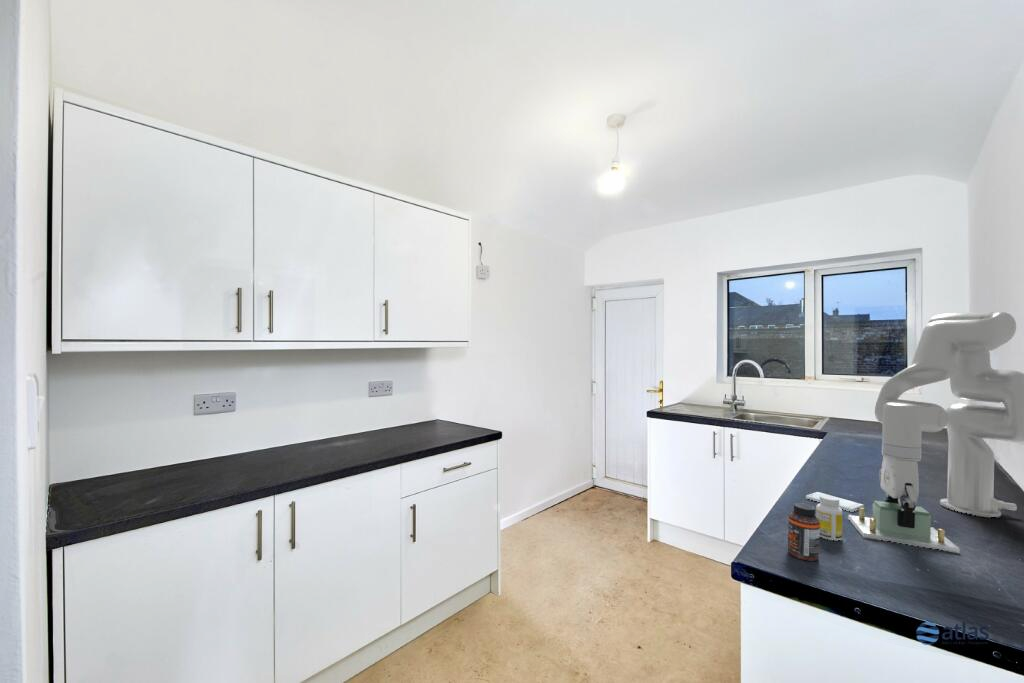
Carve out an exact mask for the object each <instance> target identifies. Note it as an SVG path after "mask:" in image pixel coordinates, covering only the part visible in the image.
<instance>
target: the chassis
mask: <svg viewBox="0 0 1024 683" xmlns="http://www.w3.org/2000/svg"><path fill="white" fill-rule="evenodd" d="M847 517H848V518H847V519H848V521H849V520H850V521H849V522H850V523H851V525H853V526H854V528H855V529H856V531H858V533H860V535H861V537H863V538H864V539H870V540H875V539H876V541H877V540H878V541H881V540H883V541H882V542H887V541H891V542H890V543H893V542H897V543H896V544H899V543H902V544H901V545H905V544H908V545H907V546H911V545H913V547H917V546H919V547H918V548H923V547H925V548H924V549H929V548H932V549H931V550H935V549H939V550H938V551H941V550H943V552H947V551H948V552H949V553H954V554H960V548H959V546H957V545H956V544H954V542H952V541H951V540H950V539H948V538H947V537H946V536H945V534H946V530H945V529H943V528H937V529H935V527H932V526H931V531H930V538H927V537H921V536H914V535H908V534H902V533H895V532H889V531H883V530H879V529H878V528H877V527H876V519H873V518H872V517H867V516H866V508H865V507H864V508H861V507H860V508H859V510H858V515H853V514H848V516H847Z"/></svg>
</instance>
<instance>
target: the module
mask: <svg viewBox="0 0 1024 683" xmlns="http://www.w3.org/2000/svg"><path fill="white" fill-rule="evenodd" d="M898 510H900V508H899V504H896V503H889V502H886V501H882V500H881V501H880V500H873V503H872V517H871V518H873V519H876V527H877V528H878V529H879V530H883V531H889V532H895V533H902V534H908V535H914V536H921V537H927V538H930V531H931V527H932V525H931V522H932V516H931V515H930V512H929V511H928V510H926V509H924V508H923V507H922V506H917V505H916V507H915V510H916V512H915V528H907V527H900V526H898V525H897V515H898Z"/></svg>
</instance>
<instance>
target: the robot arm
mask: <svg viewBox="0 0 1024 683" xmlns="http://www.w3.org/2000/svg"><path fill="white" fill-rule="evenodd" d="M1016 332H1017V322H1016V319H1015V317H1014V316H1013V315H1012V314H1011V313H1008V312H1006V311H1005V312H1004V311H986V312H985V311H984V312H983V311H982V312H981V311H980V312H979V311H978V312H952V313H951V312H950V313H941V314H940V313H939V314H937V315H934V316H932V317H931V318H930V319H929V321H928V324H927V325H926V326H924V328H923V330H922V332H921V334H920V338H919V341H918V345H917V347H916V349H915V353H914V355H913V358H912V361H911V362H912V363H911V364H910V365H909V366H907V367H906V368H904V369H902V370H901V371H899V372H896V374H894V375H893V376H892V377H890V378H889V379H888V380H887V381H886V382H884V384H883V386H881V389H880V392H879V393H878V395H877V401H876V402H875V407H874V416H875V419H876V421H878V423H880V424H882V432H881V455H882V456H883V457H882V463H881V469H882V471H881V481H880V485H879V486H880V488H881V490H883V492H885V495H884V496H885V502H889V503H896V504H899V508H900V510H898V515H897V525H898V526H900V527H907V528H915V512H916V510H915V507H916V506H917V503H918V500H919V499H918V498H919V493H920V492H919V490H920V488H919V487H920V486H919V485H920V484H919V482H920V481H919V478H920V477H919V466H918V462H921V461H922V436H923V435H922V434H923V433H922V432H926V433H937V432H940V431H942V430H944V428H946V432H947V440H948V441H947V442H948V444H947V445H948V448H947V449H948V450H947V452H948V453H947V455H948V456H947V485H946V486H947V490H946V494H947V495H946V496H947V497H946V498H941V499H940V500H939V504H940V506H942V507H944V508H946V509H948V508H949V509H948V510H951V511H954V510H955V511H954V512H957V511H958V513H961V512H962V514H965V513H967V514H966V515H969V514H972V515H971V516H975V515H976V517H983V518H991V517H996V518H1001V516H1002V512H1001V510H1003V509H1004V510H1007V511H1008V510H1010V511H1014V512H1015V511H1017V509H1018V506H1017V504H1016V503H1013V502H1012V503H1011V502H1005V501H1004V500H998V499H996V498H995V497H994V488H995V487H994V484H995V483H994V482H995V480H994V479H995V453H994V451H993V449H992V447H991V446H989V444H988V443H987V441H986V440H984V439H989V440H990V439H991V440H996V441H1001V442H1002V441H1003V442H1009V443H1024V373H1023V372H1021V371H1018V370H1011V369H994V368H993V367H992V366H991V354H990V353H991V351H994V350H995V349H998V348H999V347H1002V346H1004V345H1006V344H1007V343H1008V342H1010V341H1011V339H1013V338H1014V336H1015V334H1016ZM947 379H948V380H949V385H950V392H951V393H952V395H953V397H955V398H958V399H962V400H965V401H966V400H967V401H977V402H985V403H987V402H988V403H994V404H995V403H996V404H1001V405H1003V406H1002V407H1001V406H992V405H986V404H975V403H974V404H973V403H955V404H951V405H950V406H949V405H948V407H947V408H946V409H945V408H944V407H942V406H941V405H939V404H937V403H932V402H925V401H924V402H923V401H915V400H907V399H899V398H900V397H901V396H902V395H903V394H905V392H907V391H910V390H912V389H914V388H915V389H916V388H918V387H923V386H926V385H931V384H934V383H940V382H942V381H945V380H947Z"/></svg>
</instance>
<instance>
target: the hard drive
mask: <svg viewBox="0 0 1024 683" xmlns="http://www.w3.org/2000/svg"><path fill="white" fill-rule="evenodd" d="M820 495H829V496H833V495H830V494H827V493H823V492H821V491H820V492H819V491H816V492H813V493H809V494H806V495H805V498H806V499H805V500H807V499H810V500H809V501H811V500H813V501H812V502H814V501H817V502H816V503H818V502H820ZM833 497H836V498H838V499H839V505H838V507H839V508H841V509H843V510H842V511H845V510H846V512H849V511H850V513H852V512H853V513H855V512H857V511H859V508H860V507H861V508H865V504H862V503H859V502H856V501H853V500H848V499H845V498H841V497H837V496H835V495H834V496H833ZM820 503H821V502H820ZM820 503H819V504H820ZM854 511H855V512H854Z"/></svg>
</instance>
